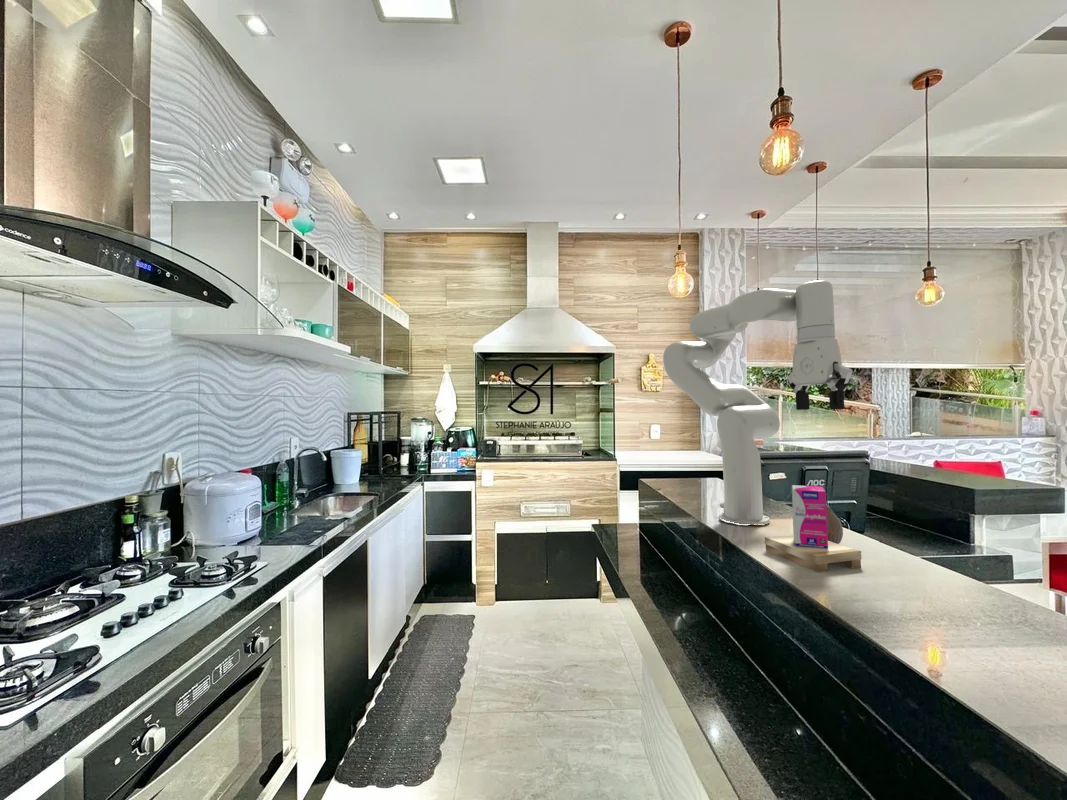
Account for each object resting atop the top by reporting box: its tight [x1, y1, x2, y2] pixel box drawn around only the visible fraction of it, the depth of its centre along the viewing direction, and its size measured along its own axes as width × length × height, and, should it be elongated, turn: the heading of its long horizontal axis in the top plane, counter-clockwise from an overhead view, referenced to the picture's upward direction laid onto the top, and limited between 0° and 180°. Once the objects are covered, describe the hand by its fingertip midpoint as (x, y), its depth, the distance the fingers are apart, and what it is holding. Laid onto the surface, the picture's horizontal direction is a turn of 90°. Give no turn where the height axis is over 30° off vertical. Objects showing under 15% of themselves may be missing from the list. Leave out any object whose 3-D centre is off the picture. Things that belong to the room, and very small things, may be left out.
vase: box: [826, 504, 844, 544], centre depth 102 cm, size 7×7×9 cm
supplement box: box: [791, 484, 828, 549], centre depth 93 cm, size 6×6×12 cm
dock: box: [764, 533, 862, 573], centre depth 93 cm, size 14×10×3 cm
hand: (819, 409), depth 105 cm, fingers open, 9 cm apart
